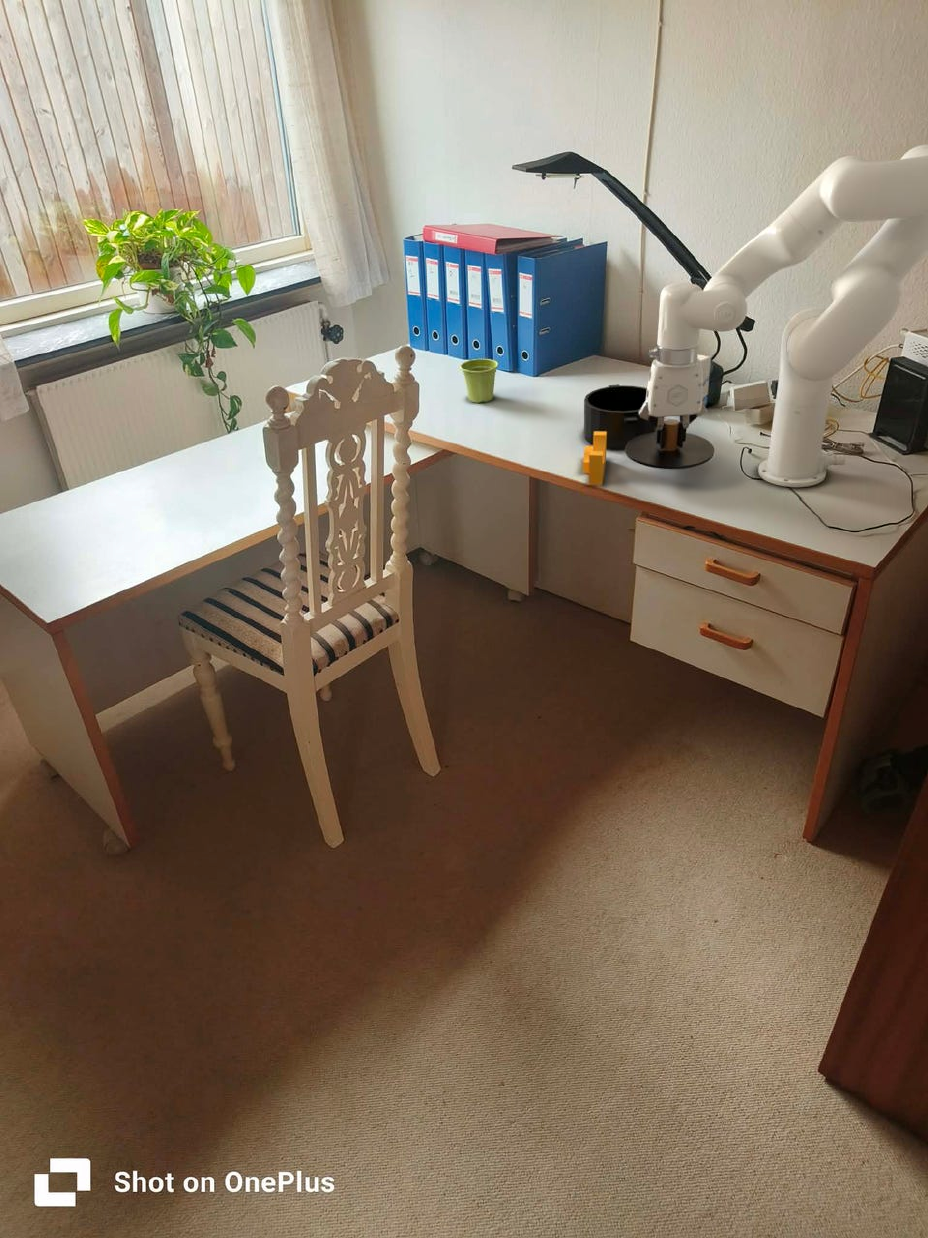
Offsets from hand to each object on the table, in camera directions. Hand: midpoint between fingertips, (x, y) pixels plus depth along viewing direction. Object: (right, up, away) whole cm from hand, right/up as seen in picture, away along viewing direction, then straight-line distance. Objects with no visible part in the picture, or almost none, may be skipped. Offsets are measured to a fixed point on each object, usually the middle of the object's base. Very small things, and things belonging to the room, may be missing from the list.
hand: (669, 444), depth 174 cm
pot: (-6, +6, +21) cm, 23 cm away
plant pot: (-37, +21, +46) cm, 63 cm away
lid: (0, -1, +1) cm, 1 cm away
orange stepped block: (-14, -5, +6) cm, 16 cm away
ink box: (+11, +15, +32) cm, 37 cm away
